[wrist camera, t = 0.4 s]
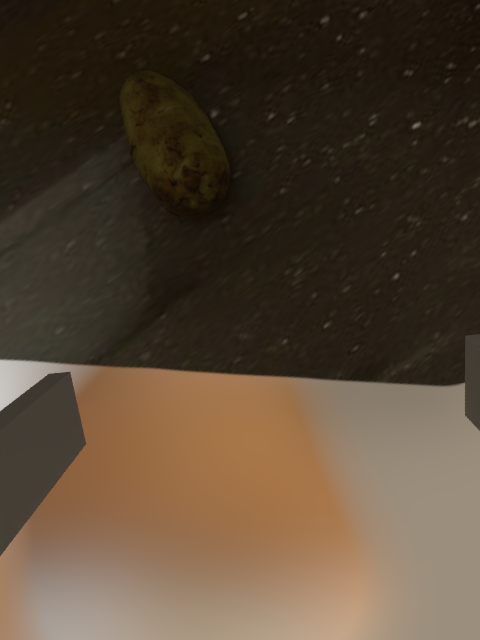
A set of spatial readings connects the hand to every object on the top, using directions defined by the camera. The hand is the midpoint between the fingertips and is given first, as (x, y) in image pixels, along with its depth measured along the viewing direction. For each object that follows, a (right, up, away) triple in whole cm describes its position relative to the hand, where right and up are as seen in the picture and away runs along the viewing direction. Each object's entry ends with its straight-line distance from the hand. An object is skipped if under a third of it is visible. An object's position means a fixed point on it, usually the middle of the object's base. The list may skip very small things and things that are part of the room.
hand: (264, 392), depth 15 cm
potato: (-6, +18, +27) cm, 33 cm away
